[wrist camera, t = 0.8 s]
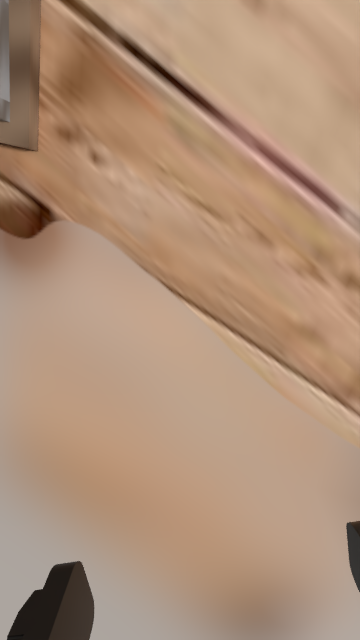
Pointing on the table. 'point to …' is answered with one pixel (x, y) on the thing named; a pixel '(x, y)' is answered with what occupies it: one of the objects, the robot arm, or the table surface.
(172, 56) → the table surface
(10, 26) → the grey hollow square frame
